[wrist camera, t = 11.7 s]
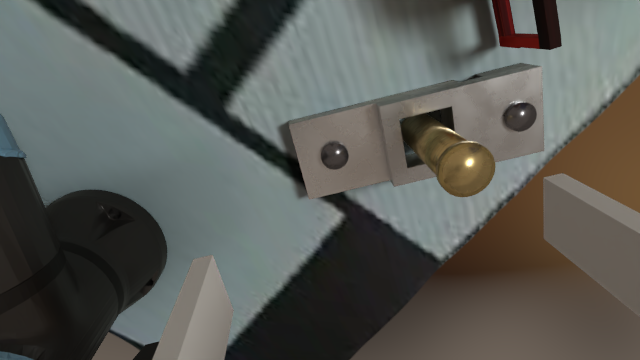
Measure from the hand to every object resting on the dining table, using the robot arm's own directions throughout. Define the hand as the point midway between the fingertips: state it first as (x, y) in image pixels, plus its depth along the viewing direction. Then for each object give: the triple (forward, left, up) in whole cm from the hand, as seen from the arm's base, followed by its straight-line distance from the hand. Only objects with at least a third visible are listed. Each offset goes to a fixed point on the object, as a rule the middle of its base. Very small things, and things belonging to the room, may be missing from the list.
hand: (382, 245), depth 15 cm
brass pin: (+9, -5, -30) cm, 32 cm away
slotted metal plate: (+9, -5, -30) cm, 32 cm away
